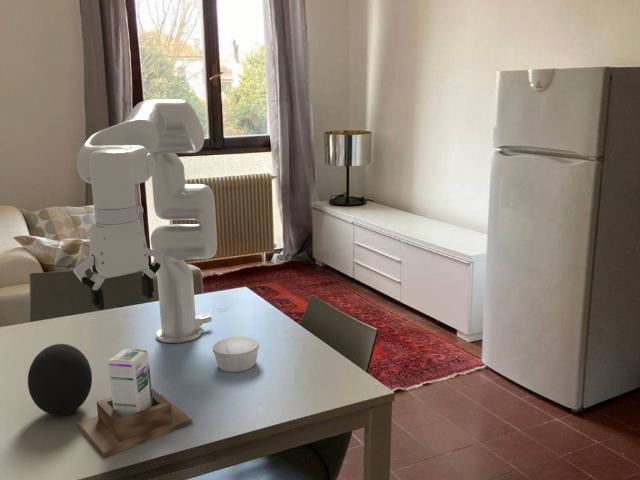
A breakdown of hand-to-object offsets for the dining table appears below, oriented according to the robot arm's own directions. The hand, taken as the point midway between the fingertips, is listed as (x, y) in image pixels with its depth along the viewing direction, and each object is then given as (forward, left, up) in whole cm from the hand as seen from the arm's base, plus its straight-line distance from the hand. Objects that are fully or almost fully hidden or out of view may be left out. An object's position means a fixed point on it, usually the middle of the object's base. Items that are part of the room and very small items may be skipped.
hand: (124, 302), depth 116 cm
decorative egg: (+10, -15, -26) cm, 32 cm away
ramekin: (-31, -10, -26) cm, 42 cm away
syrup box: (0, +1, -25) cm, 25 cm away
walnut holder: (0, +1, -26) cm, 26 cm away
